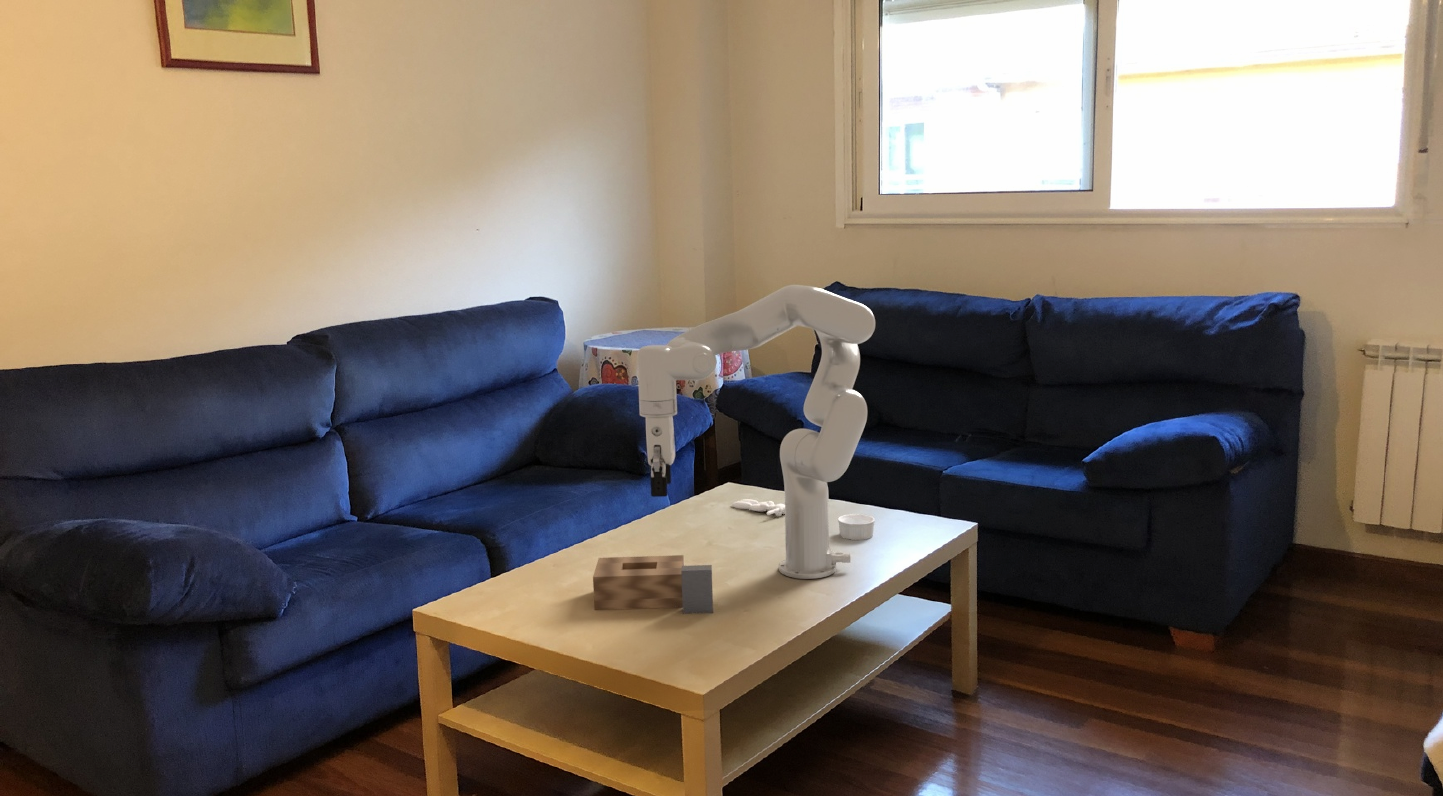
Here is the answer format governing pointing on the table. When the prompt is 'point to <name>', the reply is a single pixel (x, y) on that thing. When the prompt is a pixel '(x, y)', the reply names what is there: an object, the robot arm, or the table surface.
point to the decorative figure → (760, 506)
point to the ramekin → (856, 526)
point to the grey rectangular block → (697, 589)
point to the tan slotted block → (638, 582)
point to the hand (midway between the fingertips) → (661, 489)
